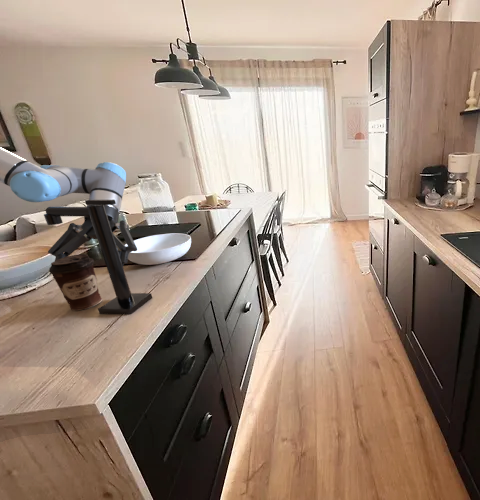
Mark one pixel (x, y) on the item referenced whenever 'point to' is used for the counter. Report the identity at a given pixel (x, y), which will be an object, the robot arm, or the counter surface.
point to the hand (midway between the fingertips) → (88, 277)
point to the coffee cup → (76, 281)
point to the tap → (104, 254)
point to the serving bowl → (160, 248)
